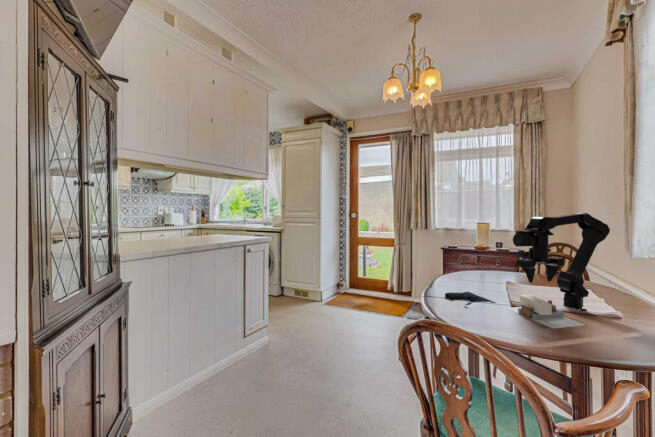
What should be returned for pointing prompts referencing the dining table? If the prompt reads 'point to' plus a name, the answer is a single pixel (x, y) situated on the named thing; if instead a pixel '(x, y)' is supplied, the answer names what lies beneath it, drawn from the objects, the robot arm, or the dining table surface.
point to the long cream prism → (536, 304)
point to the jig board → (550, 319)
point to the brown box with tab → (529, 311)
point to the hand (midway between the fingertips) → (539, 282)
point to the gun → (467, 297)
